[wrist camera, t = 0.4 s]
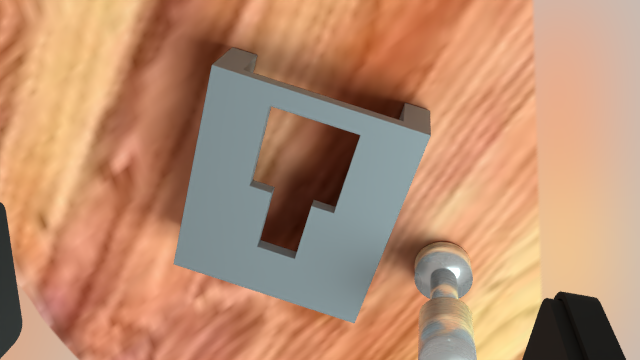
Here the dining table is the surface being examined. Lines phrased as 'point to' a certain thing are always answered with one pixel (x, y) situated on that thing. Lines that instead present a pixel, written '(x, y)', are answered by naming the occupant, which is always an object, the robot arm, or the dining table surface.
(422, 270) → the steel peg
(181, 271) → the dining table surface
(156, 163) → the dining table surface
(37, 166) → the dining table surface
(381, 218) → the keyhole plate
